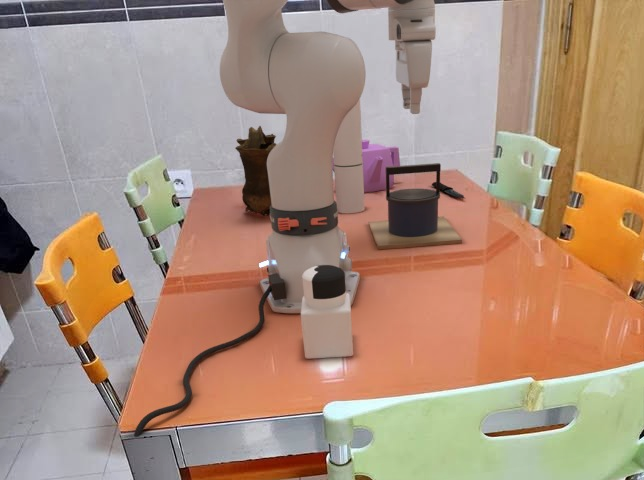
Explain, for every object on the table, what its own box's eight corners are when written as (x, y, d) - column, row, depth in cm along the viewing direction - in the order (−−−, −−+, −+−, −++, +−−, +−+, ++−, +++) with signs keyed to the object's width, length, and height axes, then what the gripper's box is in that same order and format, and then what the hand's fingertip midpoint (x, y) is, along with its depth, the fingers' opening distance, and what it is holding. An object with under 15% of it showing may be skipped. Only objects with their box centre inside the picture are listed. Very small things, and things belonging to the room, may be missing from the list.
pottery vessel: (288, 222, 159) (278, 132, 147) (243, 226, 158) (230, 135, 147) (285, 199, 179) (276, 118, 168) (245, 202, 178) (234, 121, 167)
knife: (431, 182, 183) (441, 180, 183) (431, 187, 184) (441, 185, 184) (459, 196, 166) (469, 195, 167) (459, 202, 167) (469, 200, 168)
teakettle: (403, 182, 190) (402, 135, 183) (382, 195, 178) (380, 145, 170) (350, 180, 196) (347, 134, 189) (326, 193, 183) (322, 144, 176)
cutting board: (461, 243, 138) (462, 239, 138) (378, 249, 137) (378, 245, 137) (443, 219, 155) (443, 216, 154) (368, 225, 154) (368, 221, 153)
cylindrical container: (365, 206, 169) (361, 95, 154) (363, 213, 163) (358, 98, 149) (338, 206, 170) (331, 96, 155) (335, 213, 164) (327, 100, 149)
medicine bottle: (352, 337, 101) (347, 259, 94) (353, 356, 95) (348, 275, 88) (306, 339, 101) (298, 262, 94) (305, 359, 95) (296, 279, 88)
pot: (444, 235, 141) (445, 168, 133) (390, 239, 140) (389, 172, 133) (434, 221, 151) (435, 158, 143) (383, 225, 150) (382, 162, 142)
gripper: (388, 29, 132) (389, 106, 140) (402, 29, 115) (402, 117, 123) (418, 27, 132) (418, 105, 140) (437, 27, 116) (435, 115, 124)
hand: (411, 111), depth 132 cm, fingers open, 8 cm apart
